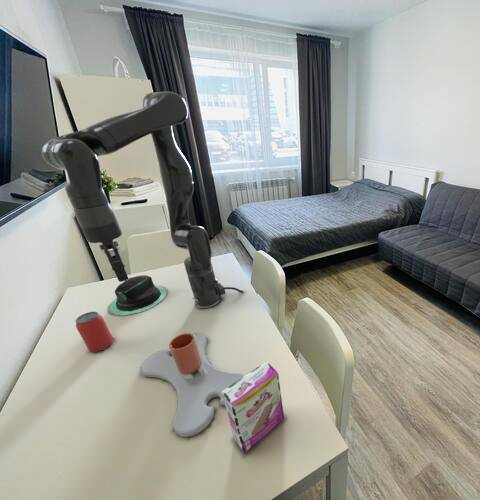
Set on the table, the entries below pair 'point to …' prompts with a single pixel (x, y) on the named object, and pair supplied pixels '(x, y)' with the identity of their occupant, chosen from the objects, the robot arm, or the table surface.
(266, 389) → the candy bar box
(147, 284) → the black and green hat
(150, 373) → the holder
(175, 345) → the cup
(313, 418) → the table surface
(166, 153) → the robot arm
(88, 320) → the beer can
